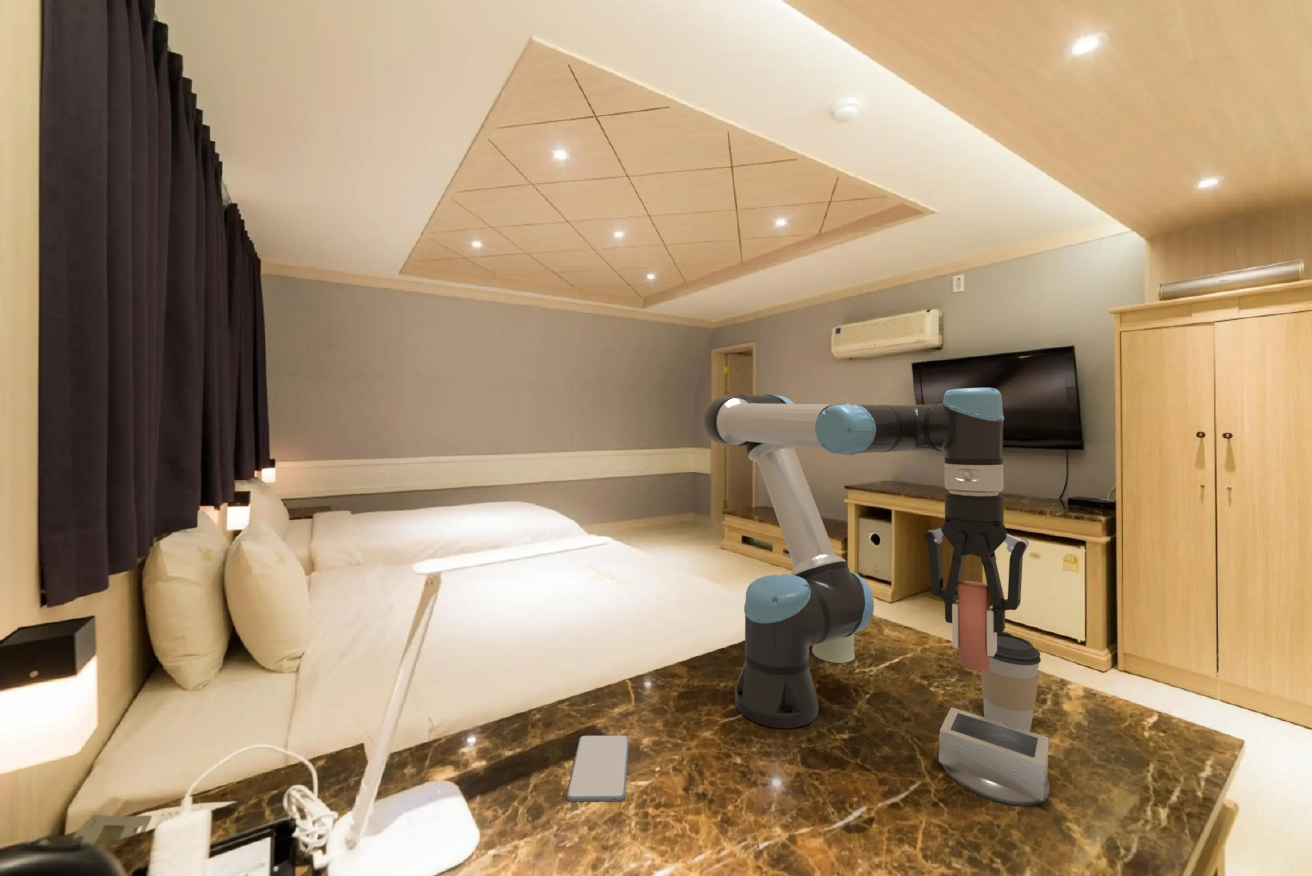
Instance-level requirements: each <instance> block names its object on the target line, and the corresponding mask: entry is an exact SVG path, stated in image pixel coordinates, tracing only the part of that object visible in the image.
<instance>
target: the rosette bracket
mask: <svg viewBox="0 0 1312 876" xmlns="http://www.w3.org/2000/svg"><path fill="white" fill-rule="evenodd" d="M938 739H939V741H938V743H939V745H938V762H939V763H940V764H941V766H942V768H943V770H944V771H945V773H946V774H947V775H948V776H949V777H950V778H951V779H953V781H955V782H956V783H957V784H959V785H960V786H962V787H963V788H964V789H966V790H968V791H969V792H971V793H974V795H975V794H976V795H978V796H980V797H982V798H984V799H987V800H991V801H992V802H996V803H1000V804H1004V805H1009V806H1014V807H1015V806H1017V807H1018V806H1019V807H1031V806H1036V805H1040V804H1042V803H1044V802H1045V801H1046V800H1047V799H1048V798H1049V797H1050V789H1051V788H1050V787H1051V786H1050V785H1051V784H1050V783H1051V782H1050V780H1049V777H1048V766H1049V765H1048V763H1049V736H1045V735H1042V734H1039V733H1035V732H1032V731H1031V730H1030V731H1026V730H1023V729H1020V728H1017V727H1013V726H1010V725H1007V724H1004V723H1001V722H997V721H994V720H991V719H988V718H985V717H984V716H981V715H977V714H975V713H972V712H968V711H965V710H962V709H958V708H955V707H950V709H949V711H948V713H947V714H946V716H945V718H944V720H943V722H942V725H941V727H940V729H939V737H938Z"/></svg>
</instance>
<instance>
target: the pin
mask: <svg viewBox="0 0 1312 876" xmlns="http://www.w3.org/2000/svg"><path fill="white" fill-rule="evenodd" d="M957 595H958V597H957V598H958V599H957V600H958V604H959V648H958V663H959V665H960V666H962V668H963V667H964V668H966V669H969V670H972V671H979V672H981V671H986V670H989V669H990V656H988V655H987V610H988V609H989V608H990V606H991V605H990V593H989V589H988V585H987V583H985V582H980V581H973V580H960V582H958V594H957Z"/></svg>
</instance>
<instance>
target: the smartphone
mask: <svg viewBox="0 0 1312 876" xmlns="http://www.w3.org/2000/svg"><path fill="white" fill-rule="evenodd" d="M629 743H630V737H628V735H625V734H624V735H621V734H620V735H618V734H617V735H615V734H614V735H605V734H603V735H582V736H580V737H579V739H578V745H577V748H576V752H575V757H574V760H573V761H574V762H573V766H572V769H571V775H570V780H569V782H568V783H569V784H568V787H567V792H566V799H567V800H568V802H621V801H623V800H624V799H625V797H626V790H627V789H626V788H627V787H626V785H627V775H628V759H629V758H628V757H629V747H630V746H629Z"/></svg>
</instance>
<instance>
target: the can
mask: <svg viewBox="0 0 1312 876" xmlns="http://www.w3.org/2000/svg"><path fill="white" fill-rule="evenodd" d="M811 652H812V654H813V655H814V656H815V657H816V658H818V659H819V660H822V661H824V662H829V663H833V664H834V663H835V664H845V663H846V664H847V663H850V662H852V661H853V660H854V659H855V657H856V655H855V633H854V634H853V635H851V636H848V637H844V638H838V639H834V640H830V641H827V642H823V643H819V644H815V645H812V649H811Z"/></svg>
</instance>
